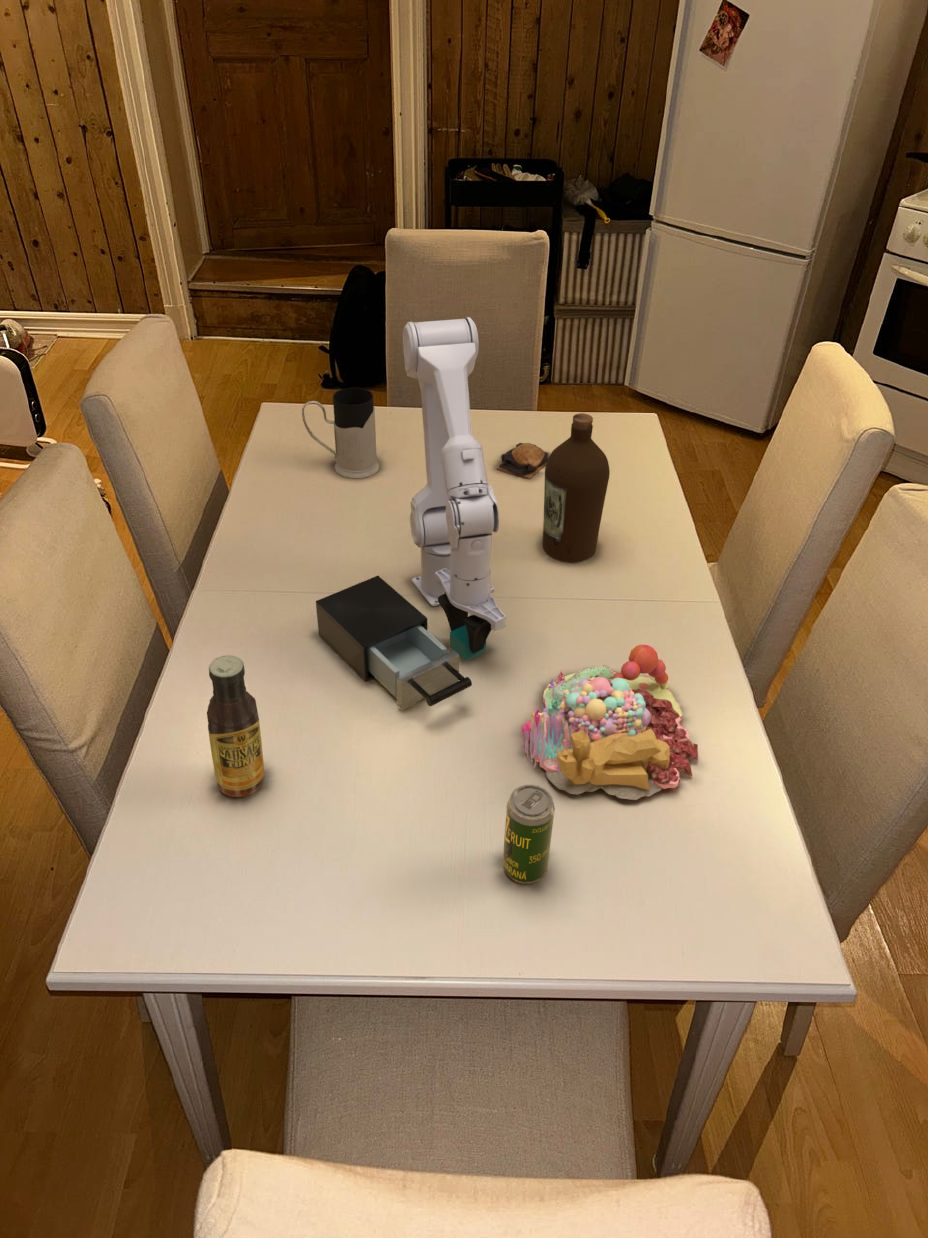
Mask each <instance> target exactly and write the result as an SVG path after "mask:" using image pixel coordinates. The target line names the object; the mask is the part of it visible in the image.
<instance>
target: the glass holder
mask: <svg viewBox="0 0 928 1238" xmlns="http://www.w3.org/2000/svg"><path fill="white" fill-rule="evenodd" d="M312 404H315V405H317V406H318V407H319V408H320V409H321V410H322V413H323V419H324V421H325V422H326V423H327V424H331V425H333V433H334V447H335V450H334V449H332V448H331V447H329V446H328V444H326V443H324V442H323V441H321V440H320V439H319V438H318V437H317V436H316V435H314V434H313V432H312V430H311V429H310V427H309V426H308V423H307V421H306V416H305V408H306V406H308V405H312ZM332 404H333V420H329V419H328V418H327V412H326V409H325V407H324V405H322V403H321V402H319V401H317V400H310V401H307V402H306V403H304V404H303V406H302V408H301V417H302V423H303V425H304V427H305V430H306V431H307V432H308V434H309V435H310V437H311V438H312V439H313V440H314V441H315V442H317V443H318V444H319V445H321V446H322V447H323V448H324V449H326V450H327V451H329V452H330V453H331V454H333V456H334V460H336V461H335V465H334V471H335V472H336V474H337V475H340V476H341V477H343V478H347V479H364V478H369V477H371V476H373V475H375V474H377V472H378V471H379V470H380V464H379V462H378V457H377V454H378V453H377V434H376V413H375V412H376V411H375V406H374V394H373V392H372V391H370V390H368V389H366V388H362V387H345V388H342V389H339V390H337V391H336V392H334V394H333V395H332Z"/></svg>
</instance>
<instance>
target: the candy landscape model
mask: <svg viewBox="0 0 928 1238" xmlns="http://www.w3.org/2000/svg"><path fill="white" fill-rule="evenodd" d="M666 669H667V666H666V663H665V661H663V660H662V659H660V658H659V655H658V652H657V651H656V650H655V648H654V647H653V646H651V645H649V644H638V645H636V646H635V647H634V648H632V649H631V650H630V653H629V656H628V661H626V662H624V663H623V664H622V666H621V668H620V672H616V671H615V670H614V669H612V668H611V666H610V665H608V664H607V665H605V664H604V665H599V666H593V667H592V666H589V667H585V668H583V669H582V670H579V671H578V672H575V673H569V674H568V675H564V672H562V671H563V670H562V669H560V671H559V672H560V673H559V674H558V675H557V678H558V679H556V680H555V681H554V680H553V679H551V681H550V683H549V684H548V685H547V686H546V688H545V689H544V690H543V695H542V703H543V704H544V708H543V709H542V712H540V708H538V709H537V710H534V713H533V712H532V713H531V716H530V720H529V721H526V722H525V724H523V725H522V726H521V732H522V733H523V743H525V744H524V745H525V748H524V754H526V759H528V758H529V752H530V763H532V764H533V759H534V767H533V768H534V769H536V768H537V765H539V767H540V768H542V769H543V770H544V771H545V774H546V778H547V779H548V780H549V781H550V783H551V784H553V785H554V787H555V788H557V789H558V790H559V791H565V792H566V793H568V794H570V795H581V794H583V793H584V792H589V793H593V792H595V791H597V790H600V789H601V790H603V791H604V792H605V793H606V794H608V795H611V796H616V798H618V799H624V800H632V801H637V800H639V799H641V798H642V797H651V796H652V795H655V794H657V793H659V792H660V791H661V790H663V789H664V790H666V789H668V788H671V789H675V788H678V786H679V784H680V783H681V779H680V773H681V774H683V775H687V776H692V777H693V772H692V766H691V762H690V761H689V759H690V758H691V759H693V760H696V761H698V759H699V752H698V751H699V747H698V745H699V744H697V743H694V742H692V741H691V739H690V731H689V730H687V729H686V728H684V727H683V726H682V725H681V720H682V719H683V715H684V713H683V712H682V710H681V707H680V706H681V705H680V703H679V702H678V701H676V698H675V696H674V695H673V691H671V689H669V688H668V686H669V684H668V681H669V674H668V673H667V672H666ZM640 674H647V675H648V676H649V677H647V676H641V675H640ZM650 677H652V678H654V679H651V678H650Z"/></svg>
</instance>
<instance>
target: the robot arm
mask: <svg viewBox="0 0 928 1238" xmlns="http://www.w3.org/2000/svg"><path fill="white" fill-rule="evenodd" d="M479 341H480V340H479V333H478V328H477V325H476V323H475V322H474V321H473V319H472V317H469V316H466V317H464V318H456V319H455V318H454V319H441V320H430V321H429V320H428V321H417V322H413V321H408V322H406V324H405V325H404V326H403V330H402V347H403V348H402V349H403V360H404V369H405V372H406V377H408V378H411V379H416V380H417V382H418V386H419V389H420V397H421V400H420V401H421V411H422V412H421V413H422V427H423V428H422V429H423V442H424V444H423V445H424V456H425V457H424V459H425V471H426V485H424V487H423V488H422V489H421V490H419V491H418V492H417V493H415V494H414V495H413V496H412V498H411V501H410V513H409V514H410V515H409V523H410V525H409V526H410V532H411V537H412V541H413V543H414V545H415V546H417V547H418V548H419V549H420V575H419V576H415V577H413V578H411V582H412V583H413V585H414V586H415V587H416V589H417V591H419V592H420V594H421V595H422V597H424V599H425V600H426V601H427V603H428V604H429V605H430V606H431V607H437V606H440V607H441V608H442V610H443V613H444V615H445V616H446V620H447V622H448V625H449V630H450V632H451V631H453V630H455V629H458V628H460V627H462V626H464V625H465V626H466V628H467V632H468V636H469V647H470V651H471V652H472V653H476V652H478V651H480V650H482V649H483V648H484V646H485V643H486V644H487V640H488V638H489V635H490V633H491V631H493V632H495V633H496V632H497V631H500V630H502V629H504V628H506V626H507V616H506V615H505V614H504V613H503V612H502V611H501V609H500V607H499V605H498V604H497V601H496V599H495V598H494V596H493V594H492V593H494V592H495V586H494V585H493V584H491V567H492V565H491V564H492V563H491V562H492V543H493V533H497V532H498V530H499V527H500V511H499V506H498V501H497V498H496V494H495V493H494V489H493V486H492V484H489V481H488V474H487V468H486V463H485V457H484V449H483V445H482V443H481V442H480V441H479V440H477V439H476V438H475V437H474V435H473V432H472V431H473V429H472V419H471V405H470V392H469V382H468V381H469V379H468V377H470V375H471V374H472V373H473V371H474V369H475V366H476V360H477V358H478V355H479V349H480V348H479V347H480V343H479ZM469 614H471V615H469Z"/></svg>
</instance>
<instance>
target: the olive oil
mask: <svg viewBox="0 0 928 1238" xmlns="http://www.w3.org/2000/svg"><path fill="white" fill-rule="evenodd" d="M593 423H594V417H593V416H592V415H590V414H588V413H585V412H584V413H583V412H581V413H576V414H574V415H573V416H572V423H571V427H570V436H569V437H568V438H567V439H566V440H564V441H563V442H562V443H560V444H559V445H557V447H555V448H554V449H553V450H552V451H551V452H550V453H551V454H550V456H549V458H548V461H547V463H546V465H545V466H544V467H545V468H544V486H543V487H544V488H543V489H544V491H543V492H544V493H543V523H542V549H543V551H544V552H545V554H547V555H548V556H549V557H550V558H552V559H554V560H557V561H559V562H563V563H564V562H565V563H580V562H581V563H582V562H584V561H587V560H589V559H591V558H592V557H593V556H594V555H595V553H596V551H597V545H598V541H599V540H598V539H599V534H600V528H601V522H602V517H603V513H604V511H603V510H604V506H605V500H606V495H607V492H608V491H607V490H608V485H609V482H610V481H609V480H610V475H611V474H610V472H611V471H610V470H611V469H610V465H609V460H608V457H607V455H606V453H605V452H604V451H603V450H602V449H601V448H600V447H599V446H598V444H597V443H596V442H595V441H594V440H593V438H592V435H593V427H594V426H593Z"/></svg>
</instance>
